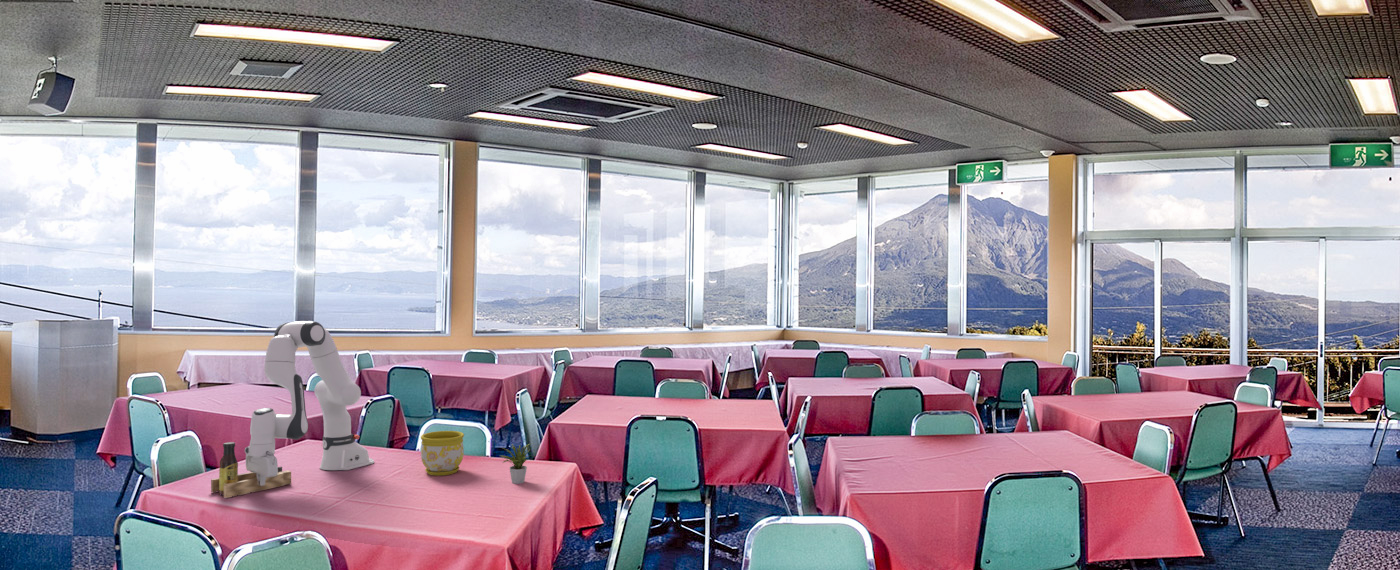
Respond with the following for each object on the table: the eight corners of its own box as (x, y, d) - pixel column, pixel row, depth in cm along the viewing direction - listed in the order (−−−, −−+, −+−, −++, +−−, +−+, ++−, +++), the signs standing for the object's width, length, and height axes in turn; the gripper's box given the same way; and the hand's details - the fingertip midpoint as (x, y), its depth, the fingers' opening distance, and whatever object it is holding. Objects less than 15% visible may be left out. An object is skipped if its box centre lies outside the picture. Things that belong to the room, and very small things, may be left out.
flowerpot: (460, 465, 360) (460, 429, 360) (466, 474, 344) (467, 437, 344) (418, 469, 353) (418, 432, 352) (423, 479, 336) (423, 440, 336)
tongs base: (278, 479, 333) (278, 463, 333) (286, 482, 328) (286, 467, 328) (211, 492, 313) (211, 476, 313) (219, 496, 308) (219, 479, 308)
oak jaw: (287, 482, 328) (287, 470, 328) (292, 483, 326) (292, 471, 326) (221, 496, 308) (221, 483, 307) (225, 498, 305) (225, 485, 305)
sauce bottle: (228, 496, 309) (228, 445, 308) (215, 495, 310) (214, 444, 310) (241, 491, 315) (241, 441, 315) (228, 490, 317) (228, 441, 316)
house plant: (513, 475, 344) (514, 437, 344) (541, 478, 339) (542, 440, 339) (494, 483, 330) (494, 444, 330) (523, 487, 326) (523, 447, 325)
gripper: (282, 452, 311) (281, 487, 311) (259, 445, 324) (258, 479, 323) (265, 454, 306) (265, 490, 306) (242, 447, 319) (241, 482, 318)
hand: (261, 485), depth 315 cm, fingers closed
